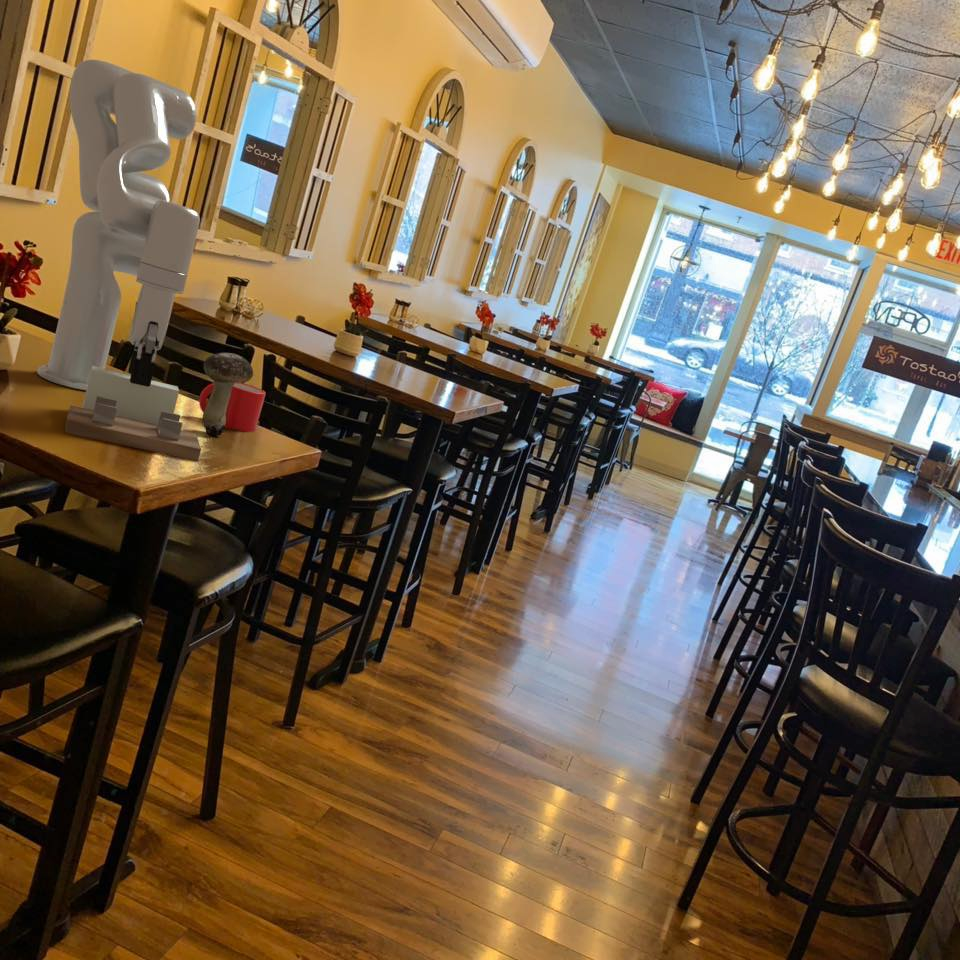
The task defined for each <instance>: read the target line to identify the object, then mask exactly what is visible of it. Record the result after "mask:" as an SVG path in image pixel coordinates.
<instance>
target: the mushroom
mask: <svg viewBox="0 0 960 960" xmlns="http://www.w3.org/2000/svg"><path fill="white" fill-rule="evenodd" d="M203 370H204V373H205V374H206V376H208V378H209V379H210V380H211V381H214V388H213V391H212V392H211V393H210V396H209V398H208V400H207V406H206V408H205V411H204V413H203V412H202V424H203V426H204V429H205V433H206V434H208V435H211V436H222V434H223V432H224V429H225V426H224V425H225V424H226V416H225V413H226V408H227V405H228V401H229V398H230V394H231V391H232V387H233V386H234V384H235V383H247V382H249V381H251V380H252V378H253V376H254V369H253V367H252V365H251V364H250V362H249V361H248V360H247V359H246V358H244V357H243V356H240V355H239V354H236V353H233V352H232V353H231V352H219V353H214V354H211V355H210V356H209V357H207V358H206V359H204V361H203Z"/></svg>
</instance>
